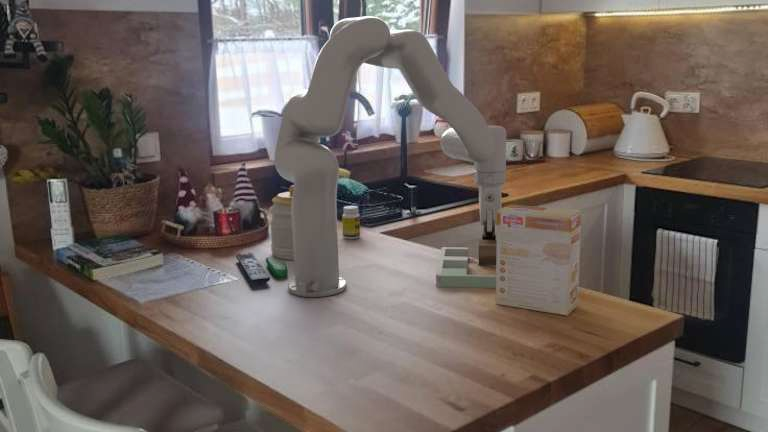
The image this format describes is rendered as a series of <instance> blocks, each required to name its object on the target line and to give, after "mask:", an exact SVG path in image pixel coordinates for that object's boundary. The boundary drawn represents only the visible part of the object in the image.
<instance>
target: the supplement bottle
mask: <svg viewBox="0 0 768 432" xmlns="http://www.w3.org/2000/svg"><path fill="white" fill-rule="evenodd" d="M341 216H342V217H341V218H342V220H341V221H342V237H343V238H344V239H345V240H346V239H347V240H355V239H359V238H361V222H360V221H361V220H360V219H361V218H360V216H361V215H360V213H359V206H357V205H346V206H344V207H343V214H342V215H341Z"/></svg>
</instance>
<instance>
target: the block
mask: <svg viewBox="0 0 768 432" xmlns="http://www.w3.org/2000/svg"><path fill="white" fill-rule="evenodd" d="M496 250H497V239H496V240H482V239H478V266H485V267H487V266H488V267H496ZM493 265H494V266H493Z"/></svg>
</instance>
